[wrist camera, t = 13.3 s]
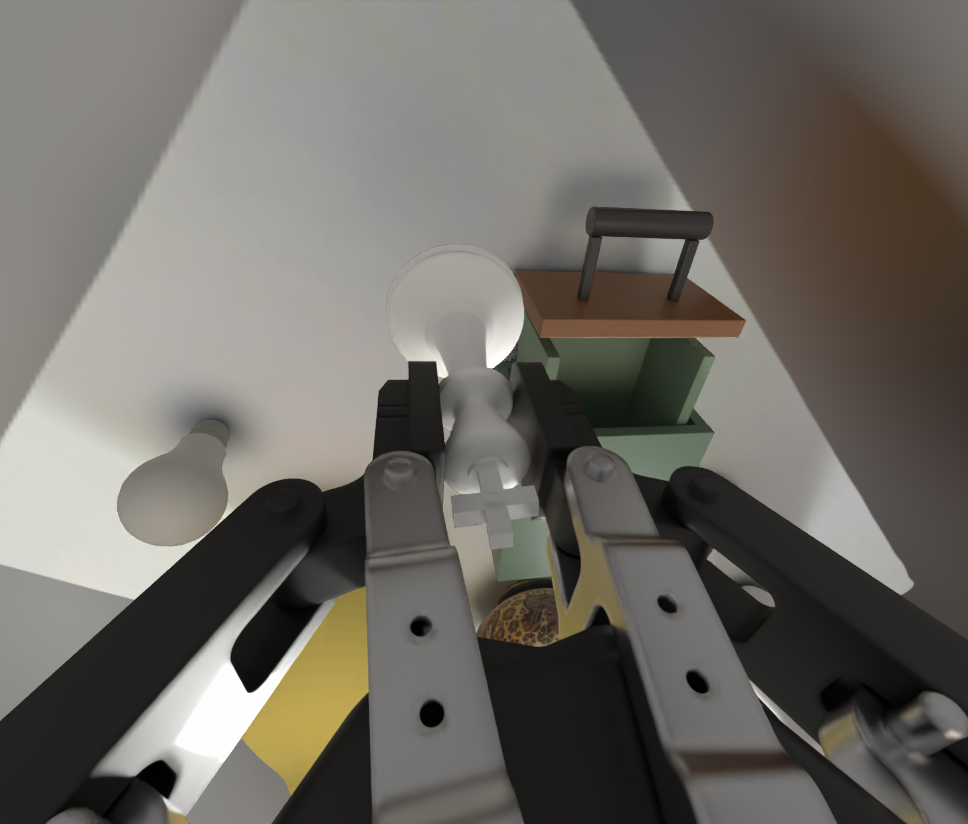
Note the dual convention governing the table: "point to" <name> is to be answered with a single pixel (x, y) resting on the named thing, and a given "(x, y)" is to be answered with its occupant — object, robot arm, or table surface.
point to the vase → (314, 693)
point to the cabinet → (645, 455)
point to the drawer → (627, 325)
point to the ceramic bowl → (524, 615)
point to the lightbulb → (178, 490)
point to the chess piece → (469, 376)
